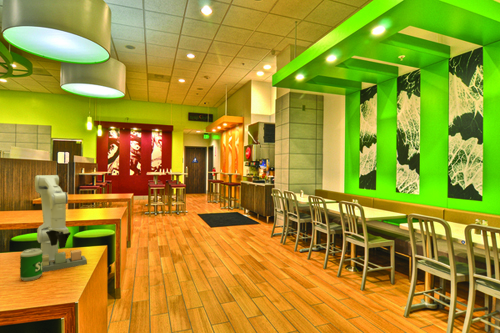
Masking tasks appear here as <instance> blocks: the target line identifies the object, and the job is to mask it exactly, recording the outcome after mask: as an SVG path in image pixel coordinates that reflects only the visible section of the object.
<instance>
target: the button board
mask: <svg viewBox="0 0 500 333" xmlns="http://www.w3.org/2000/svg"><path fill="white" fill-rule="evenodd" d="M87 261H88V259H87V258H86V257H85V255H81V260H75V261H71V257H68V258H66V262H64V263H58V264H55V260H52V261H49V265H47V266H43V267H42V273H48V272H52V271H56V270H58V271H59V270H62V269H68V268H74V267H78V266H84V265H87V264H88V263H87Z"/></svg>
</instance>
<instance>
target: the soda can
mask: <svg viewBox="0 0 500 333" xmlns="http://www.w3.org/2000/svg"><path fill="white" fill-rule="evenodd" d="M42 267H43V251H42V250H41V247H40V248H38V247H36V248H33V247H32V248H28V249H24V250H22V252H21V253H20V260H19V278H20V279H21V281H23V282H24V281H25V282H29V281H30V282H31V281H35V280H37V279H40V277H41V276H42V275H43V272H42Z"/></svg>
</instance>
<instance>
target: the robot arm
mask: <svg viewBox="0 0 500 333" xmlns="http://www.w3.org/2000/svg"><path fill="white" fill-rule="evenodd" d="M59 184H60V177H59V175H58V174H53V175H51V174H48V175H45V174H44V175H43V174H42V175H40V174H37V175H36V176H35V177H34V189H35V192H36V193H37V194H40V200H41V210H42V211H41V212H42V213H41V214H42V221H43V223H42V224H41V225H39V226H38V227H37V229H36V231H37V233H36V239H37V240H36V241H37V242H38V243H39V244H40V250H42V251H43V255H49V261H55V253H59V249H63V248H66V246H67V241H68V239H69V237H70V236H71V234H72V233H71V232H70V230H69V228H68V227H67V226H66V222H67V221H66V217H67V216H66V210H67V208H66V205H67V204H68V200H69V198H68V196H69V195H68V193H67V192H66V191H63V189H62V188H61V186H59Z"/></svg>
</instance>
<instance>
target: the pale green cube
mask: <svg viewBox="0 0 500 333" xmlns="http://www.w3.org/2000/svg"><path fill="white" fill-rule="evenodd" d="M66 257H67V255H66V252H65V251H62V252H58V253H55V260H54V261H55V264H58V263H64V262H66V259H67V258H66Z"/></svg>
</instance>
